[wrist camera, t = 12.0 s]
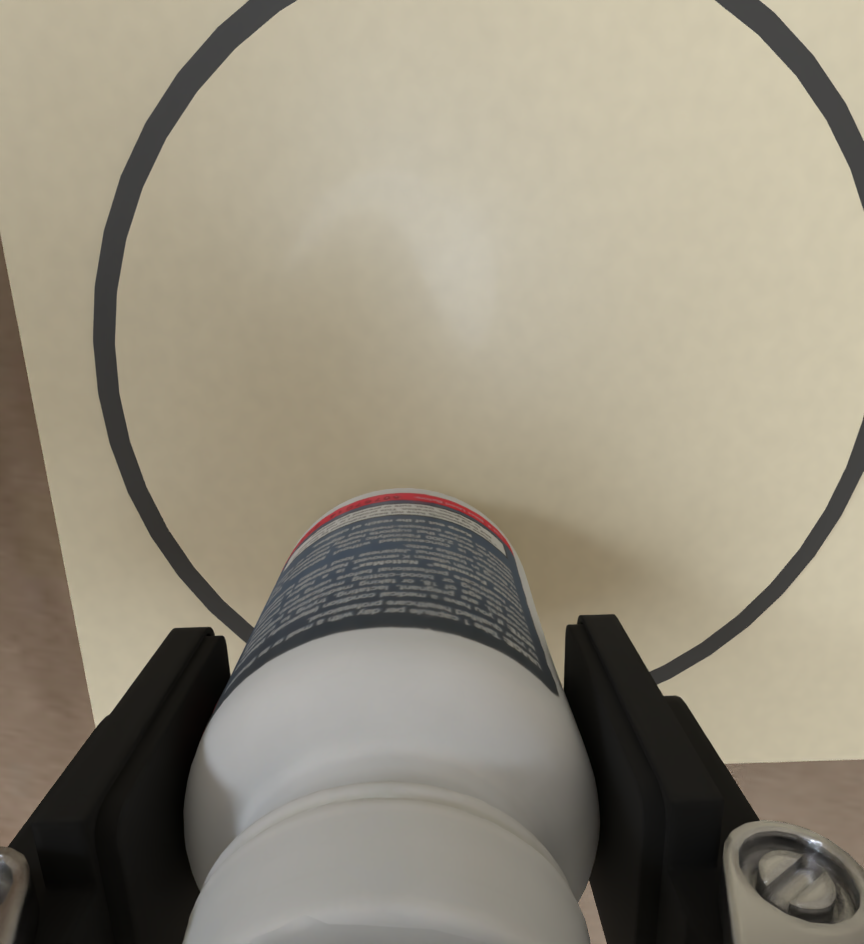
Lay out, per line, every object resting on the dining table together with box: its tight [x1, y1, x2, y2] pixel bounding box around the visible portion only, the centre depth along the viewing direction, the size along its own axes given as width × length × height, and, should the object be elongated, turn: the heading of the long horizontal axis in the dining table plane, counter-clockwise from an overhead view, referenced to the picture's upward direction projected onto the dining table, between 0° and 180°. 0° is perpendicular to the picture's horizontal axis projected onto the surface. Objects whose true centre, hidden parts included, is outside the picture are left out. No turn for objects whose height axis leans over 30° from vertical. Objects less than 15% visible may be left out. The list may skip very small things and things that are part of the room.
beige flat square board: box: [0, 0, 864, 764], centre depth 14 cm, size 20×20×1 cm
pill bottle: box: [182, 488, 600, 944], centre depth 10 cm, size 5×5×9 cm
